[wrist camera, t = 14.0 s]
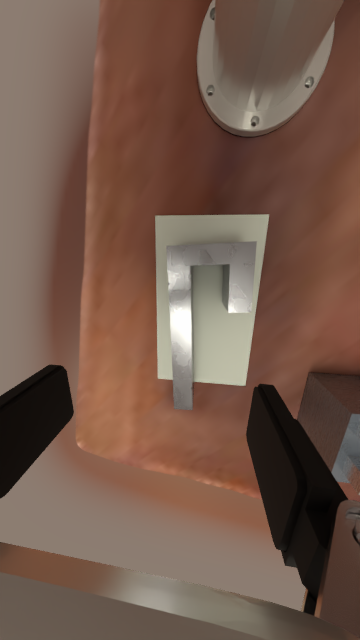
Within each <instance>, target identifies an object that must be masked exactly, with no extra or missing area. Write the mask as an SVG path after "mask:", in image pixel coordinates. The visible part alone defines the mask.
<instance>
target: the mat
mask: <svg viewBox="0 0 360 640" xmlns="http://www.w3.org/2000/svg"><path fill="white" fill-rule="evenodd" d="M268 220H269V214H266V215H169V216H155V229H156V289H157V349H158V379H170V380H173V372H172V352H171V332H170V311H169V291H168V271H167V251H166V246H171V245H191V244H211V243H231V242H251V241H257V245H256V258H255V271H254V284H253V297H252V310H251V312H245V313H228V312H227V310H226V308H225V307H224V305H223V303H222V286H223V265H214V266H193V319H194V382H205V383H217V384H229V385H240V386H245V384H246V377H247V370H248V363H249V356H250V349H251V341H252V334H253V327H254V320H255V313H256V306H257V299H258V292H259V284H260V277H261V270H262V263H263V256H264V249H265V242H266V234H267V227H268Z"/></svg>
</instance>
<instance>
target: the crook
mask: <svg viewBox="0 0 360 640" xmlns="http://www.w3.org/2000/svg"><path fill="white" fill-rule="evenodd" d="M256 245H257V241H251V242H231V243H211V244H191V245H171V246H166V251H167V271H168V291H169V311H170V332H171V352H172V372H173V392H174V409H184V410H193V395H194V319H193V266H214V265H223V286H222V303H223V305H224V307H225V308H226V310H227V312H228V313H245V312H251V310H252V297H253V284H254V271H255V258H256Z"/></svg>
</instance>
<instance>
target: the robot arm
mask: <svg viewBox="0 0 360 640" xmlns="http://www.w3.org/2000/svg"><path fill="white" fill-rule="evenodd" d="M343 2H344V0H212V2H211V4H210V5H209V8H208V10H207V13H206V15H205V18H204V21H203V24H202V28H201V32H200V36H199V41H198V51H197V76H198V85H199V90H200V94H201V97H202V101H203V103H204V105H205V107H206V109H207V111H208V113H209V114H210V116H211V117H212V118H213V120H214V121H215V122H216V123H217V124H218V125H219V126H221V127H222V128H223V129H224V130H226V131H228V132H230V133H232V134H235V135H239V136H246V137H255V136H259V135H264V134H267V133H269V132H271V131H274V130H276V129H278V128H279V127H281V126H282V125H284V124H285V123H287V122H288V121H289V120H290V119H291V118H292V117H293V116H294V115H296V114H297V113H298V112H299V111H300V109H301V108H302V107H303V105H304V104H305V103H306V102H307V100H308V99H309V97H310V96H311V94H312V93H313V91H314V90H315V88H316V86H317V85H318V83H319V81H320V78H321V76H322V74H323V72H324V70H325V68H326V65H327V62H328V59H329V56H330V53H331V48H332V43H333V38H334V26H335V17H336V15H337V13H338V12H339V10H340V8H341V6H342V4H343ZM252 125H254V126H255V127H254V126H252ZM73 413H74V411H73V404H72V399H71V393H70V387H69V382H68V377H67V371H66V370H65V369H64V367H63V366H61V365H48V366H46V367H45V368H43V369H42V370H40V371H39V372H37V373H36V374H34V375H32V376H31V377H29V378H28V379H26V380H25V381H23V382H21V383H20V384H18V385H17V386H15V387H14V388H12V389H11V390H9V391H7V392H6V393H4V394H3V395H1V396H0V498H2V497H3V496H5V495H6V494H7V493H8V492H9V491H10V489H11V488H12V487H13V486H14V485H15V483H16V482H17V481H18V480H19V479H20V478H21V477H22V475H23V474H24V473H25V472H26V471H27V470H28V468H29V467H30V466H31V465H32V464H33V463H34V461H35V460H36V459H37V458H38V457H39V456H40V454H41V453H42V452H43V451H44V450H45V449H46V447H47V446H48V445H49V444H50V443H51V441H53V439H54V438H55V437H56V436H57V435H58V434H59V432H60V431H61V430H62V429H63V428H64V426H65V425H66V424H67V423H68V422H69V421H70V419H71V418H72V416H73ZM246 436H247V442H248V446H249V450H250V454H251V458H252V462H253V465H254V469H255V473H256V477H257V481H258V485H259V488H260V492H261V496H262V500H263V503H264V508H265V511H266V515H267V519H268V523H269V527H270V530H271V535H272V538H273V542H274V545H275V547H276V549H278V550H281V552H282V556H283V559H284V563H285V566H291V567H296V568H297V569H298V572H299V575H300V578H301V581H302V584H303V585H304V586H305V587H306V591H305V595H304V599H303V603H302V608H301V611H298V610H294V609H291V608H288V607H285V606H282V605H279V604H275V603H272V602H268V601H264V600H260V599H256V598H252V597H248V596H244V595H240V594H236V593H232V592H227V591H223V590H219V589H215V588H211V587H207V586H203V585H198V584H194V583H189V582H185V581H180V580H175V579H171V578H166V577H162V576H157V575H152V574H148V573H143V572H139V571H134V570H130V569H124V568H120V567H116V566H111V565H106V564H102V563H96V562H92V561H88V560H83V559H78V558H73V557H69V556H64V555H59V554H55V553H49V552H45V551H40V550H35V549H31V548H26V547H21V546H16V545H12V544H7V543H2V542H0V640H360V502H358V501H355V500H348V498H347V497H346V495H345V494H344V492H343V490H342V489H341V487H340V486H339V484H338V483H337V481H336V479H335V478H334V476H333V475H332V473H331V471H330V470H329V468H328V467H327V465H326V463H325V462H324V460H323V459H322V457H321V456H320V454H319V452H318V451H317V449H316V448H315V446H314V444H313V443H312V441H311V440H310V438H309V436H308V435H307V433H306V432H305V430H304V428H303V427H302V425H301V424H300V423H299V421H298V420H296V419H294V418H293V417H292V415H291V413H290V412H289V410H288V408H287V407H286V405H285V403H284V402H283V400H282V398H281V397H280V395H279V393H278V392H277V390H276V388H275V387H274V386H273V385H267V384H259V385H258V387H255V388H254V391H253V397H252V403H251V409H250V415H249V420H248V426H247V433H246Z"/></svg>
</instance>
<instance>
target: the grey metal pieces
mask: <svg viewBox="0 0 360 640" xmlns="http://www.w3.org/2000/svg"><path fill="white" fill-rule="evenodd" d="M297 420H298V421H299V423H300V424H301V425H302V427H303V428H304V430H305V432H306V433H307V435H308V436H309V438H310V440H311V441H312V443H313V444H314V446H315V448H316V449H317V451H318V452H319V454H320V456H321V457H322V459H323V460H324V462H325V463H326V465H327V467H328V468H329V470H330V471H331V473H332V475H333V476H334V478H335V479H336V481H338V482H346V483H350V484H351V485H352V486H353V488H354V489H355V491H356V492H357V494H358V495H360V376H351V375H338V374H325V373H312V372H309V375H308V379H307V383H306V387H305V391H304V395H303V399H302V403H301V407H300V411H299V415H298V419H297Z"/></svg>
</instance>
